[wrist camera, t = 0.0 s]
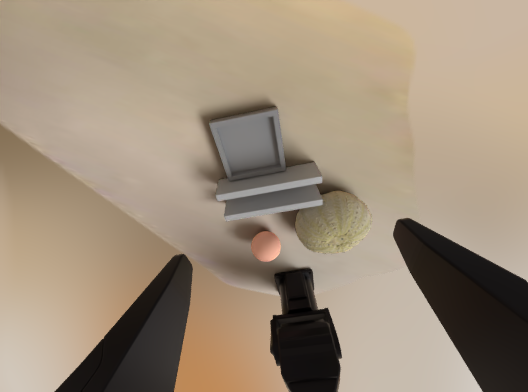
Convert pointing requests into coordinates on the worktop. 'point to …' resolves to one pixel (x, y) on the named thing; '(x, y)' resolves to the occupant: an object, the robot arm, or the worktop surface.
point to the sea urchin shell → (333, 223)
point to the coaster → (250, 143)
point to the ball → (266, 246)
